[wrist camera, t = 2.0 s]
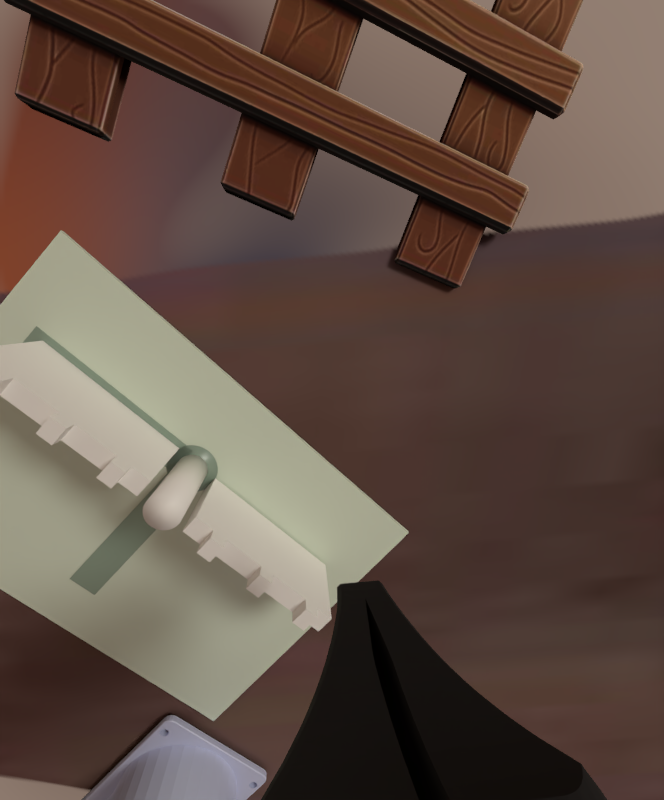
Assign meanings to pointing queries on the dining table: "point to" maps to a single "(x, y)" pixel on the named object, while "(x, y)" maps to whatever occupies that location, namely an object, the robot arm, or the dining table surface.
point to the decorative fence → (328, 99)
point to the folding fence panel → (260, 554)
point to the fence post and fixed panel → (98, 429)
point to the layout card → (122, 510)
